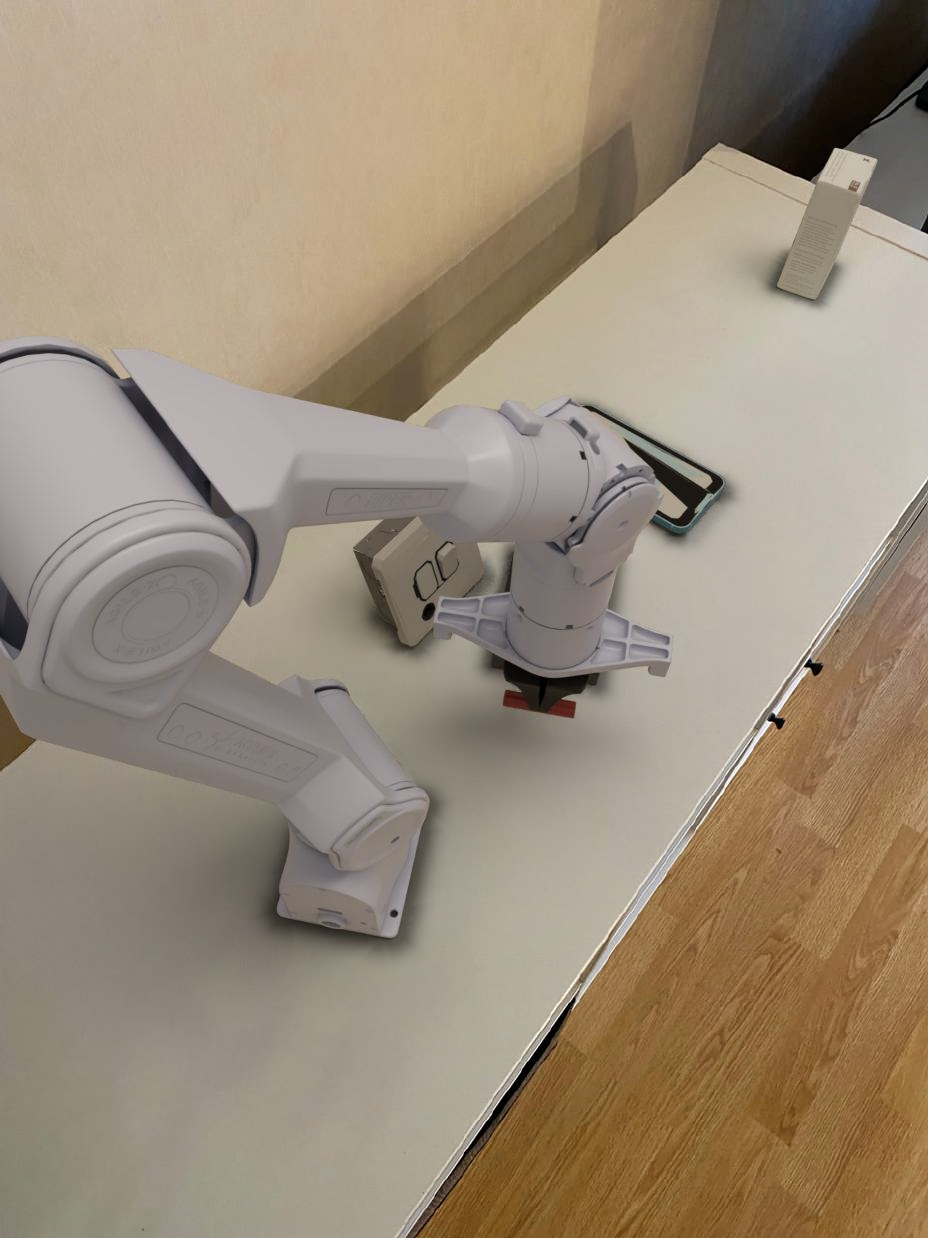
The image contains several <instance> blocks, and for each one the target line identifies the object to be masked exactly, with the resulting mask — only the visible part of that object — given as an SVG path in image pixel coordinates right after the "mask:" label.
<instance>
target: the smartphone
mask: <svg viewBox="0 0 928 1238" xmlns="http://www.w3.org/2000/svg"><path fill="white" fill-rule="evenodd" d="M580 405H581V407H583V408H586V409H588V410H589V411H590V412H591V413H592V414H593V415H595V416H596V417H597V418H598V419H599V420H600V421H601V422H602V423H603V424H604V425H605V426H606V427H608V428H609V429H610V430H611V431H612V432H613V433H614V434H615V435H616V436H617V437H618V438H620V439H621V440H622V441H623V442H624V443H625V444H626V445H627V446H628V447H629V448H630V449H631V450H633V451H634V452H635V453H636V454H637V455H638V456H639V457H640V458H641V459H642V460H643V461H644V462H646V463H647V464H648V465H649V466H650V467H651V468H652V469H653V471H654V472H653V474H654V475H655V484H654V486H655V487H656V488H657V489H659V490H660V492H659V494H660V493H662V492H664V493H665V494H664V497H663V500H662V502H661V504H660V506H659V508H658V510H657V511H656V513H655V514H654V516H653V517H652V519H651V520H652V521H654V522H655V523H657V524H658V525H660V526H662V527H664V528H666V529H667V530H668V531H670V532H672V533H675V534H684V533H687V532H689V531H690V530H691V529H692V527H694V525H695V524H696V523H697V522H698V521H699V520H700V518H701V517H702V516H703V515H704V514H705V513H706V512H707V511H708V510H709V508H710V507H711V506H712V505H713V504H714V503H715V502H716V500H718V498H719V497H720V496H721V495H722V494H723V492H724V490H725V487H726V479H725V478H724V477H723V476H722V475H721V474H720V473H718V472H716V471H714V470H712V469H710V468H708V467H707V466H705V465H703V464H702V463H701V462H698V461H696V460H694V459H692V458H691V457H689V456H687V455H685V454H683V453H682V452H680V451H678V450H676V449H674V448H672V447H670V446H669V445H667V444H665V443H664V442H662V441H660V440H658V439H656V438H654V437H652V436H651V435H649V434H647V433H645V432H644V431H641V430H639V429H638V428H637V427H634V426H632V424H631V425H630V424H629V423H628V422H626V421H623V420H621V419H620V418H618V417H616V416H614V415H612V414H610V413H609V412H607V411H606V410H603V409H601V408H600V407H598V406H596V405H594V404H591V403H583V404H580Z"/></svg>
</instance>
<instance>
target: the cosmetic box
mask: <svg viewBox="0 0 928 1238" xmlns="http://www.w3.org/2000/svg"><path fill="white" fill-rule="evenodd" d="M877 164H878V159H877V158H874V157H872V156H869V155H865V154H861V153H858V152H854V151H850V150H847V149H843V148H837V147H834V148H833V149H832V152H831V154H830V156H829V158H828V160H827V162H826V163H825V165H824V167H823V168H822V171H821V173H820V175H819V176H818V178H817V181H816V183H815V185H814V189H813V190H812V194H811V196H810V198H809V201H808V203H807V205H806V207H805V211H804V213H803V216H802V218H801V221H800V224H799V227H798V229H797V231H796V234H795V236H794V239H793V242H792V244H791V247H790V250H789V252H788V255H787V257H786V260H785V263H784V265H783V268H782V271H781V273H780V276H779V278H778V281H777V283H776V287H777V288H779V289H781V290H783V291H785V292H788V293H791V294H794V295H797V296H800V297H803V298H807V299H809V300H816V299H817V298H818V296H819V295H820V293H821V290H822V289H823V287H824V285H825V283H826V281H827V279H828V277H829V275H830V273H831V271H832V269H833V267H834V265H835V262H836V260H837V258H838V257H839V254H840V251H841V249H842V247H843V244H844V242H845V240H846V237H847V234H848V233H849V230H850V227H851V225H852V223H853V221H854V218H855V216H856V213H857V211H858V209H859V207H860V204H861V202H862V200H863V197H864V194H865V193H866V190H867V188H868V186H869V183H870V182H871V181H870V180H871V179H872V176H873V174H874V171H875V169H876V166H877Z"/></svg>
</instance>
